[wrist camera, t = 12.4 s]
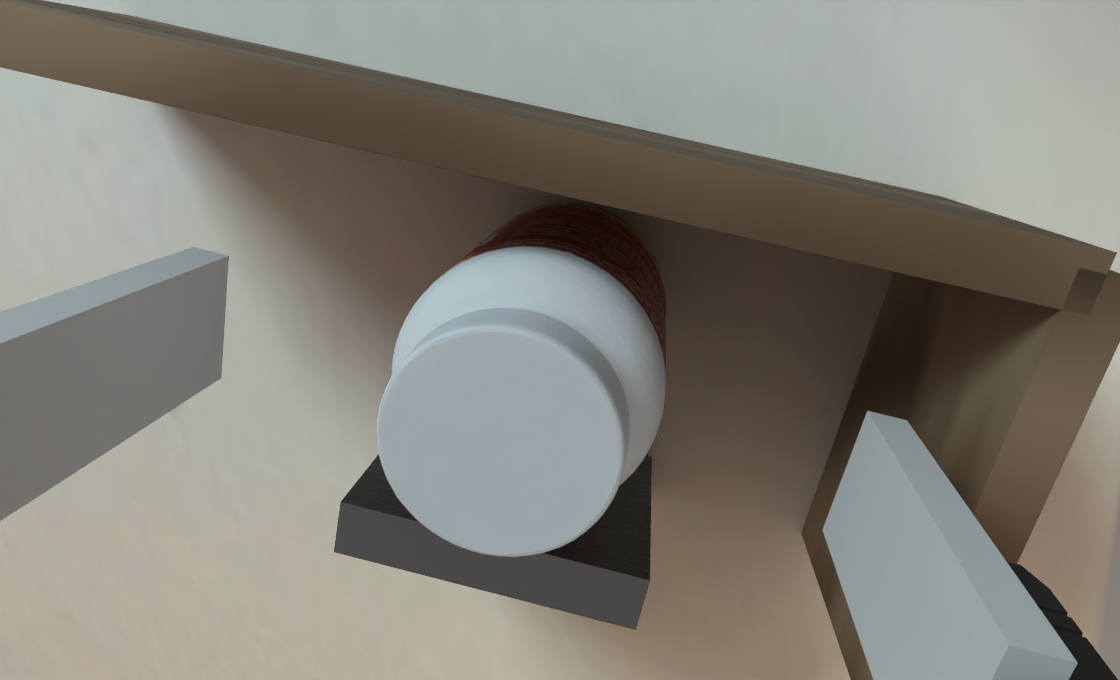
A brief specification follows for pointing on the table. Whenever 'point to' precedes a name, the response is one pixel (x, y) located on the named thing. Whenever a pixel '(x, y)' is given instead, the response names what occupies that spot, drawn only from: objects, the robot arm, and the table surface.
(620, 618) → the dark rectangular block
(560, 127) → the wooden corner wall
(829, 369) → the table surface
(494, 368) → the pill bottle
